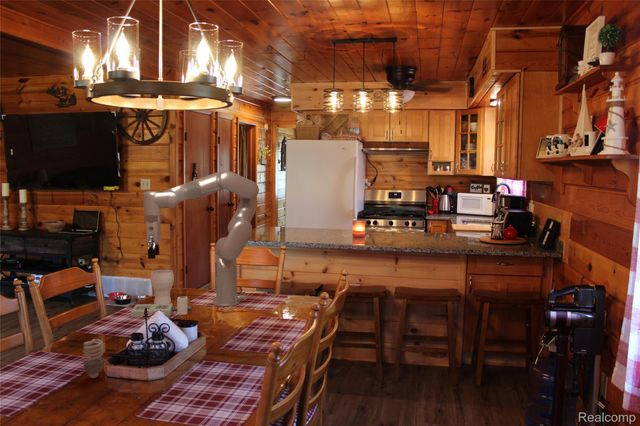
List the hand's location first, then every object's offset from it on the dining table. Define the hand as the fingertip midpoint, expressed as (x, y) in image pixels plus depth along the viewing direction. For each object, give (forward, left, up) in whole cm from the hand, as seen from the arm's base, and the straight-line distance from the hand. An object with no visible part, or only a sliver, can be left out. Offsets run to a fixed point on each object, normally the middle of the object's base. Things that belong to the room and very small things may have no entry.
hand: (153, 256), depth 233 cm
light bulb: (+7, +78, -24) cm, 82 cm away
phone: (-12, +1, -25) cm, 28 cm away
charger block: (-13, +8, -24) cm, 28 cm away
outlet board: (0, +6, -24) cm, 25 cm away
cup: (-2, -12, -24) cm, 27 cm away
